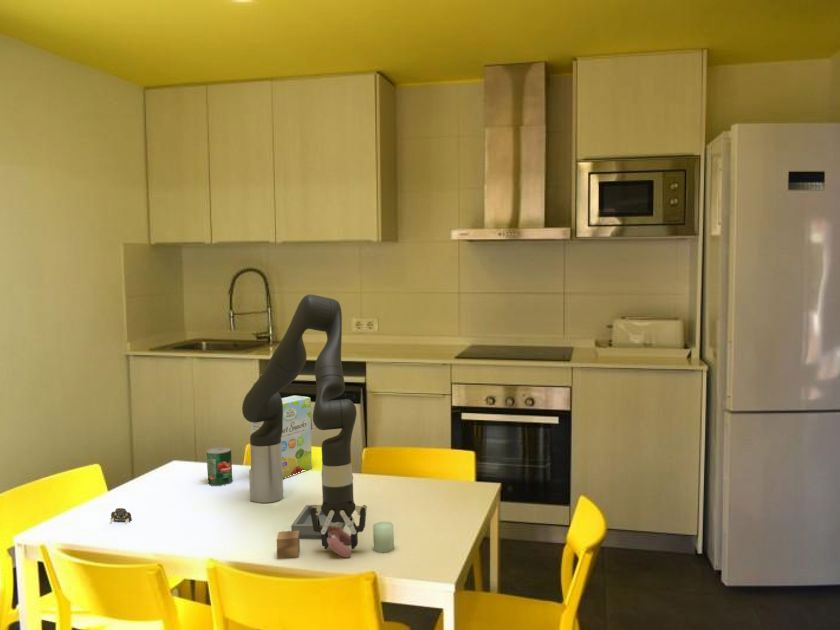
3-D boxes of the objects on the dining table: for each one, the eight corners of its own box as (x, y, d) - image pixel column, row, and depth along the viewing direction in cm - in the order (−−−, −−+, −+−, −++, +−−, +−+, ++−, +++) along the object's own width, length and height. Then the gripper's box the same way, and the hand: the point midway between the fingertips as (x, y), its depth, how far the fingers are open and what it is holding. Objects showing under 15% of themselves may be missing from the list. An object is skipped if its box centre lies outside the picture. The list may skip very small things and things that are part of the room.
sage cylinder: (372, 552, 177) (371, 528, 176) (375, 544, 182) (374, 521, 181) (392, 553, 176) (391, 529, 176) (395, 545, 181) (394, 521, 181)
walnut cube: (277, 559, 174) (276, 539, 174) (279, 551, 179) (278, 531, 179) (298, 558, 175) (297, 538, 174) (299, 550, 180) (299, 530, 179)
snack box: (269, 485, 233) (266, 407, 231) (250, 482, 238) (246, 405, 236) (314, 469, 251) (311, 396, 249) (295, 465, 256) (292, 394, 254)
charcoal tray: (291, 538, 187) (291, 525, 187) (306, 517, 203) (306, 504, 203) (337, 539, 186) (336, 525, 186) (348, 517, 202) (348, 505, 202)
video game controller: (338, 549, 183) (325, 525, 182) (354, 540, 183) (341, 517, 183) (336, 565, 173) (322, 540, 173) (352, 556, 173) (338, 531, 173)
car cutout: (103, 527, 200) (102, 511, 200) (117, 519, 207) (116, 504, 206) (152, 529, 198) (151, 513, 197) (165, 521, 204) (164, 505, 204)
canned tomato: (228, 486, 234) (227, 452, 233) (204, 486, 234) (203, 453, 233) (235, 478, 242) (234, 446, 241) (212, 479, 242) (210, 447, 241)
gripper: (304, 485, 174) (307, 553, 175) (363, 485, 172) (366, 553, 173) (312, 476, 181) (315, 542, 182) (368, 476, 180) (371, 542, 181)
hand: (340, 547), depth 178 cm, fingers closed on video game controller, 6 cm apart
